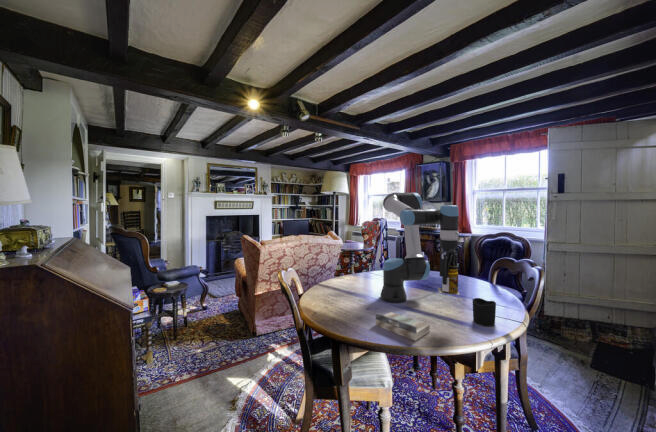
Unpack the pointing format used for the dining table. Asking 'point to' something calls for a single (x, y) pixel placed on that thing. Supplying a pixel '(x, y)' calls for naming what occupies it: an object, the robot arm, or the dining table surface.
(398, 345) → the dining table surface
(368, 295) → the dining table surface
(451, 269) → the condiment
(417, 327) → the cream flat block
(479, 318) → the pen holder
